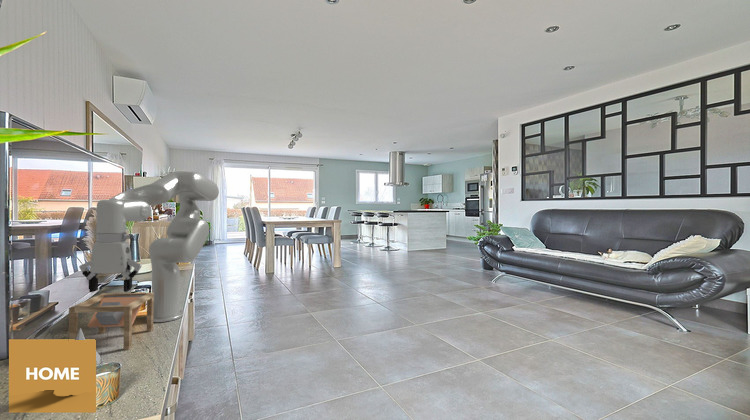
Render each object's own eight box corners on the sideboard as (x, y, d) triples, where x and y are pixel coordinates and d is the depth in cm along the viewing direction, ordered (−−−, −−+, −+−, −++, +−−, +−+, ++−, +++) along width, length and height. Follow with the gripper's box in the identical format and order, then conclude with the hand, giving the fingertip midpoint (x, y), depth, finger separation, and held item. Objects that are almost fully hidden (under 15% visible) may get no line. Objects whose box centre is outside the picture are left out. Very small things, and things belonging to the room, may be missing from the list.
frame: (101, 331, 120) (101, 293, 120) (153, 329, 123) (153, 292, 123) (68, 352, 104) (68, 308, 104) (129, 349, 107) (129, 306, 107)
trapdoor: (105, 297, 119) (104, 295, 118) (145, 296, 121) (144, 295, 120) (88, 327, 110) (87, 326, 109) (131, 325, 112) (131, 324, 112)
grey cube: (108, 311, 114) (102, 302, 111) (125, 310, 115) (120, 302, 112) (101, 324, 110) (95, 316, 107) (118, 324, 111) (113, 315, 108)
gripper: (146, 237, 116) (145, 287, 116) (88, 236, 113) (87, 288, 113) (135, 239, 108) (134, 293, 109) (72, 239, 105) (72, 294, 106)
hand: (110, 291), depth 111 cm, fingers open, 9 cm apart
